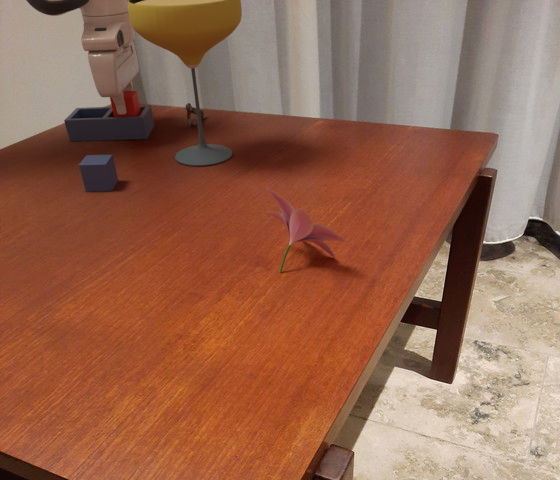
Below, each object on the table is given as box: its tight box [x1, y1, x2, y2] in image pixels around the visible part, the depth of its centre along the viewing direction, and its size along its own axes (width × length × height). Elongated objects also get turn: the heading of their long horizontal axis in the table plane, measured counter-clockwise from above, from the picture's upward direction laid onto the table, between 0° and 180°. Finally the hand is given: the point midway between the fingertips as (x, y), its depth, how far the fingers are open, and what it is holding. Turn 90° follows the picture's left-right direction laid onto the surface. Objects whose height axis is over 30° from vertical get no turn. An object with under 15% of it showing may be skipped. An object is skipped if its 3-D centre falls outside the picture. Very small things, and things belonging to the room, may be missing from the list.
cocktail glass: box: [127, 0, 243, 167], centre depth 96 cm, size 18×18×25 cm
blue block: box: [78, 154, 119, 193], centre depth 94 cm, size 4×4×4 cm
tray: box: [63, 104, 155, 142], centre depth 115 cm, size 8×16×4 cm, turn 89°
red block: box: [109, 90, 141, 117], centre depth 113 cm, size 4×4×4 cm
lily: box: [264, 186, 348, 273], centre depth 71 cm, size 12×12×10 cm
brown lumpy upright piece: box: [185, 102, 205, 128], centre depth 118 cm, size 2×8×4 cm, turn 167°
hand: (126, 109), depth 113 cm, fingers closed on red block, 4 cm apart
